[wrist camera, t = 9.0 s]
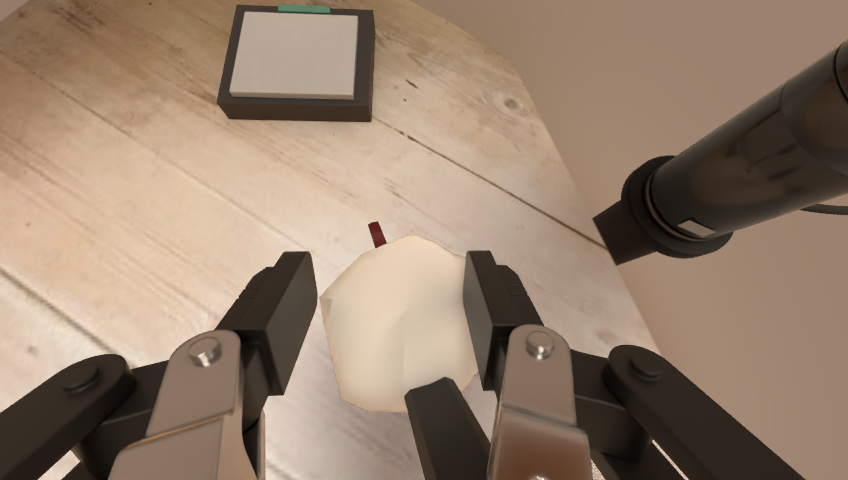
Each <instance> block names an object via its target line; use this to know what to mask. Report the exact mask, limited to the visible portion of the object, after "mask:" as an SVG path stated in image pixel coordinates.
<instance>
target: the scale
mask: <svg viewBox="0 0 848 480" xmlns="http://www.w3.org/2000/svg"><path fill="white" fill-rule="evenodd" d="M374 43H375V25H374V15H373V10H356V9H331V8H330V6H311V5H286V4H279V7H278V6H253V5H237V6H236V11H235V16H234V21H233V26H232V30H231V35H230V40H229V45H228V50H227V55H226V59H225V64H224V69H223V74H222V79H221V84H220V89H219V93H218V98H217V104H218V105H219V106H220V108H221V109H222V110H223V111H224V113H225V114H226V115H227V116H228V118H229V119H261V120H307V121H354V122H371V115H372V91H373V67H374Z"/></svg>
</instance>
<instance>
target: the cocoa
mask: <svg viewBox="0 0 848 480" xmlns="http://www.w3.org/2000/svg"><path fill="white" fill-rule="evenodd" d="M368 226H369V229H370V233H371V236H372V239H373V242H374V245H375V249H373V250H371V251H368V252H366V253H364V254H362V255H361V256H360V257H359V258H358V259H357V260H355V261H354V262H353V263H352V264H351V265H350V266H349V267H348V268H347V269H346V270H345V271H344V272H343V273H342V274H341V275H340V276H339V277H338V278H337V279H336V281H335V282H334V283H333V284H332V285H331V286H330V287H329V288H328V289H327V290H326V291H325V292H324V293H323V294H322V296H321V297H320V303H321V309H322V315H323V321H324V326H325V330H326V335H327V339H328V343H329V347H330V351H331V356H332V360H333V365H334V370H335V374H336V379H337V384H338V388H339V393H340V398H342V399H344V400H346V401H348V402H351V403H353V404H355V405H357V406H359V407H361V408H363V409H365V410H367V411H380V412H408V415H409V419H410V423H411V426H412V430H413V434H414V438H415V442H416V446H417V450H418V454H419V458H420V462H421V466H422V470H423V473H424V477H425V480H485V478H486V471H487V465H488V458H489V451H490V445H491V443H490V442H489V440H488V438H487V436H486V435H485V433H484V431H483V430H482V428H481V426H480V424H479V423H478V421H477V419H476V418H475V416H474V414H473V412H472V411H471V409H470V407H469V406H468V404H467V402H466V400H465V399H464V397H463V395H462V394H461V392H460V391H461V390H463V389H464V388H466V386H467V385H468V384H469V382H470V381H471V379H472V378H473V377H474V375H475V374H476V373H477V371H478V367H477V362H476V358H475V354H474V349H473V345H472V341H471V336H470V332H469V328H468V323H467V319H466V315H465V310H464V305H463V283H464V272H465V261H466V259H465V258H463V257H460V256H458V255H455V254H452V253H449V252H447V251H446V250H444V249H443V248H442V247H440V246H439V245H437V244H436V243H435V242H432V241H429V240H426V239H423V238H420V237H417V236H414V235H408V236H406V237H403V238H400V239H398V240H395V241H392V242H390V243H386V240H385V238H384V235H383V233H382V230H381V227H380V225H379V223H378V221H377V222H372V223H370V224H368Z"/></svg>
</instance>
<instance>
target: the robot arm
mask: <svg viewBox="0 0 848 480" xmlns="http://www.w3.org/2000/svg"><path fill="white" fill-rule="evenodd" d="M847 193H848V39H847V40H846V41H844V42H843V43H841V44H840V45H839V46H837V47H836V48H834V49H833V50H831V51H830V52H828V53H827V54H825V55H824V56H822V57H821V58H820V59H818V60H816V61H815V62H813V63H812V64H811V65H809V66H808V67H806V68H805V69H803V70H802V71H800V72H799V73H798V74H796V75H795V76H793V77H792V78H790V79H789V80H787V81H786V82H784V83H783V84H782V85H780V86H779V87H777V88H776V89H774V90H773V91H771V92H770V93H768V94H767V95H766V96H764V97H763V98H761V99H760V100H758V101H757V102H755V103H754V104H752V105H751V106H749V107H748V108H746V109H745V110H743V111H742V112H741V113H739V114H737V115H736V116H735V117H733V118H732V119H730V120H729V121H727V122H726V123H724V124H723V125H721V126H720V127H718V128H717V129H716V130H714V131H713V132H711V133H710V134H708V135H707V136H705V137H704V138H702V139H701V140H699V141H698V142H696V143H695V144H693V145H692V146H691V147H689V148H688V149H686V150H685V151H683V152H682V153H680V154H679V155H677V156H676V157H674V158H673V159H671V160H670V161H668V162H667V163H665V164H663V165H661V166H659V167H658V168H656V169H655V170H653V171H652V172H651V173H650V174H649V175H648V176H647V178H646V180H645V182H644V184H643V188H642V200H643V205H644V208H645V210H646V212H647V214H648V216H649V218H650V219H651V220H652V222H653V223H654V224H655V225H656V226H657V227H658V228H659V229H660V230H661V231H663V232H664V233H665V234H667V235H668V236H670V237H672V238H674V239H676V240H679V241H682V242H687V243H702V242H706V241H709V240H712V239H715V238H717V237H719V236H721V235H724V234H727V233H730V232H733V231H736V230H739V229H742V228H745V227H748V226H751V225H754V224H757V223H760V222H763V221H766V220H769V219H772V218H775V217H778V216H781V215H784V214H787V213H790V212H793V211H796V210H803V211H809V212H817V213H826V214H837V215H848V206H832V205H823V204H817V203H820V202H823V201H826V200H829V199H832V198H835V197H838V196H841V195H844V194H847ZM463 305H464V310H465V315H466V319H467V323H468V328H469V332H470V336H471V341H472V345H473V349H474V354H475V358H476V362H477V367H478V371H479V375H480V380H481V384H482V388H483V391H495V394H496V397H497V406H496V411H495V418H494V425H493V431H492V438H491V445H490V451H489V458H488V465H487V471H486V478H485V480H593V475H592V466H591V459H592V461H593V462H594V463H595V465H596V466H597V468H598V469H599V471H600V472H601V474H602V475H603V477H604V478H605V480H685V479H684V478H683V477H682V476H681V475H680V474H679V473H678V471H677V470H676V469H675V468H674V467H673V466H672V465H671V463H670V462H669V461H668V460H667V459H666V458H665V457H664V455H663V454H662V453H661V452H660V451H659V450H658V449H657V447H656V446H655V445H654V444H653V443H652V440H653V439H654V440H655V442H656V443H657V444H658V445H659V446H660V447H661V448H662V449H663V451H664V452H665V453H666V454H667V455H668V456H669V457H670V459H671V460H672V461H673V462H674V463H675V464H676V465H677V466H678V468H679V469H680V470H681V471H682V472H683V473H684V474H685V475H686V477H687V478H688V479H689V480H805V479H804V478H803V477H802V476H801V475H800V474H798V473H797V472H796V471H795V470H794V469H792V468H791V467H790V466H789V465H788V464H787V463H785V462H784V461H783V460H782V459H781V458H780V457H779V456H777V455H776V454H775V453H774V452H773V451H772V450H770V449H769V448H768V447H767V446H766V445H765V444H763V443H762V442H761V441H760V440H759V439H758V438H757V437H755V436H754V435H753V434H752V433H751V432H749V431H748V430H747V429H746V428H745V427H744V426H742V425H741V424H740V423H739V422H738V421H737V420H736V419H734V418H733V417H732V416H731V415H730V414H729V413H727V412H726V411H725V410H724V409H723V408H722V407H720V406H719V405H718V404H717V403H716V402H715V401H713V400H712V399H711V398H710V397H709V396H708V395H706V394H705V393H704V392H703V391H702V390H701V389H699V388H698V387H697V386H696V385H695V384H693V382H691V381H690V380H689V379H688V378H687V377H686V376H684V375H683V374H682V373H681V372H680V371H678V370H677V369H676V368H675V367H674V366H673V365H672V364H670V363H669V362H668V361H667V360H665V359H664V358H663V357H661V356H660V355H658V354H656V353H654V352H652V351H650V350H648V349H645V348H642V347H638V346H634V345H620V346H617V347H615V348H613V349H612V350H611V351H610V354H609V356H608V358H603V357H599V356H595V355H590V354H586V353H582V352H578V351H575V350H572V349H570V347H569V345H568V343H567V342H566V340H565V339H564V338H563V337H562V336H561V335H559V334H558V333H557V332H555V331H553V330H551V329H549V328H547V327H545V326H544V324H543V323H542V321H541V319H540V317H539V315H538V313H537V311H536V309H535V307H534V305H533V303H532V302H531V300H530V298H529V296H527V292H526V290H525V288H524V287H523V284H522V282H521V280H520V279H519V277H518V275H517V274H516V273H515V272H514V271H513V270H511V269H510V268H509V267H508V266H507V265H496V262H495V260H494V258H493V256H492V253H491V251H467V253H466V261H465V272H464V283H463ZM316 306H317V287H316V281H315V275H314V269H313V263H312V257H311V254H310V252H308V251H294V252H283V254H282V255H281V257H280V258H279V260H278V261H277V263H276V264H275V266H274V267H266V268H265V269H263V270H262V271H260V272H259V273H257V274H256V275H255V276H253V278H252V279H251V280H250V282H249V283H248V284H247V286H246V289H244V290H243V291H242V293H241V294H240V295H239V299H237V300H236V301H235V302H234V304H233V305H232V306H231V308H230V309H229V311H228V312H227V313H226V315H225V316H224V317H223V319H222V320H221V321H220V323H219V324H218V326H217V327H216V328H215V330H213V331H208V332H205V333H202V334H199V335H197V336H195V337H193V338H191V339H189V340H187V341H186V342H184V343H183V344H182V345H180V346H179V347H178V348H177V349H176V350H175V351H174V352H173V354H172V355H171V357H170V359H169V360H167V361H163V362H159V363H155V364H151V365H147V366H142V367H138V368H134V369H130V367H129V366H128V364H127V362H126V360H125V359H124V358H123V357H122V356H120V355H116V354H104V355H98V356H94V357H90V358H87V359H84V360H82V361H79V362H77V363H75V364H73V365H70V366H68V367H67V368H65V369H63V370H61V371H60V372H58V373H57V374H55V375H54V376H52V377H51V378H49V379H48V380H47V381H45V382H44V383H42V384H41V385H40V386H38V387H37V388H35V389H34V390H32V391H31V392H30V393H28V394H27V395H25V396H24V397H22V398H21V399H20V400H18V401H17V402H15V403H14V404H13V405H11V406H10V407H8V408H7V409H5V410H4V411H3V412H1V413H0V480H38V479H39V478H40V477H41V476H42V475H43V474H44V473H45V472H46V471H48V470H49V469H50V468H51V467H52V466H53V465H54V464H55V463H56V462H57V461H59V460H60V459H61V458H62V457H63V456H64V455H65V454H66V453H67V452H68V451H70V450H71V451H72V452H73V453H74V454H75V456H76V457H77V458H78V459H79V460H80V462H79V463H78V464H77V465H76V466H75V467H74V468H73V469H72V470H71V471H70V472H69V473H68V474H67V475H66V476H65V477H64V478H63V479H62V480H266V476H265V413H264V410H263V407H264V404H265V402H266V400H267V397H268V396H279V395H284V392H285V390H286V387H287V384H288V382H289V379H290V376H291V374H292V371H293V368H294V366H295V363H296V361H297V358H298V355H299V353H300V350H301V347H302V345H303V342H304V339H305V337H306V334H307V331H308V329H309V326H310V323H311V321H312V318H313V315H314V313H315V310H316Z"/></svg>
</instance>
